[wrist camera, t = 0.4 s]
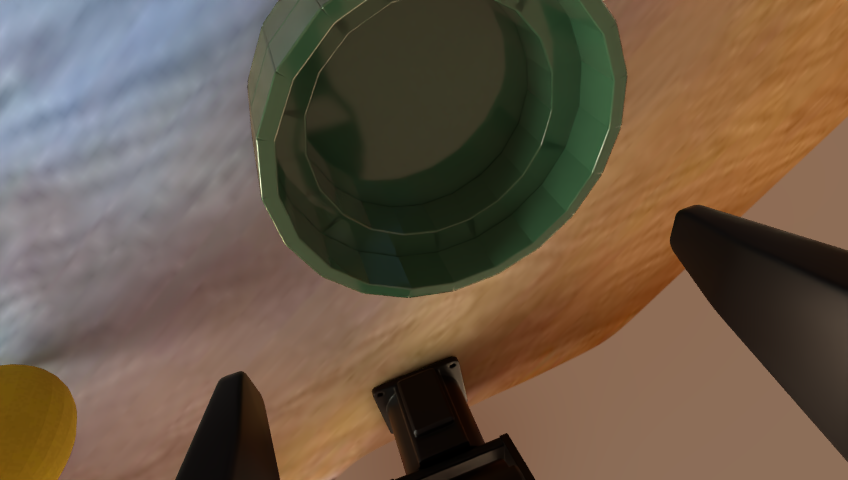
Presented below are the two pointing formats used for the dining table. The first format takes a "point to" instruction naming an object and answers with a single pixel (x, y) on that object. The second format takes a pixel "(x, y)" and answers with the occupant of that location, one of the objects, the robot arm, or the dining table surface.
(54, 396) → the lemon
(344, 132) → the bowl
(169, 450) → the dining table surface
